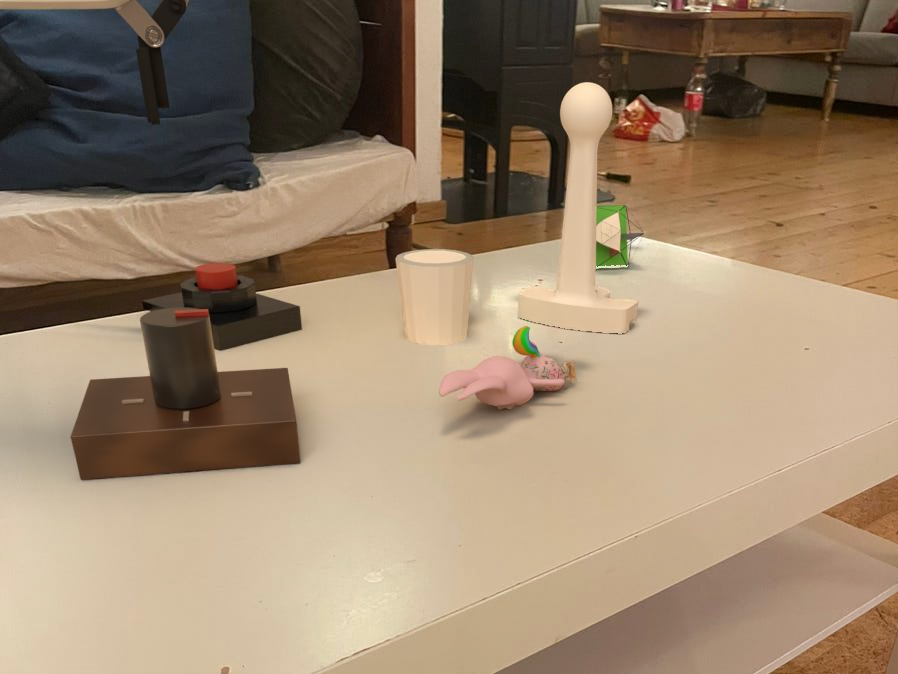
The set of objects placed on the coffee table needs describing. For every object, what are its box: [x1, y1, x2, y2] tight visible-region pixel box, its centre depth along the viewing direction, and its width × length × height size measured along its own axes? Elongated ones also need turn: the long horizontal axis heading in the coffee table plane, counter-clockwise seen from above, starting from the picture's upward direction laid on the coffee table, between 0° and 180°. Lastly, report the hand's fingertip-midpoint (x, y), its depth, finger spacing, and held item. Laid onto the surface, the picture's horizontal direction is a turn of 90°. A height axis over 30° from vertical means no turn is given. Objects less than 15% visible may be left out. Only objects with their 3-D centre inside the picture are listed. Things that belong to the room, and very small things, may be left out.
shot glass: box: [395, 248, 475, 346], centre depth 88 cm, size 7×7×7 cm
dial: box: [139, 308, 221, 409], centre depth 66 cm, size 4×4×6 cm
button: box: [194, 262, 238, 289], centre depth 90 cm, size 4×4×2 cm
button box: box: [141, 274, 303, 352], centre depth 91 cm, size 12×9×4 cm
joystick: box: [517, 81, 639, 335], centre depth 90 cm, size 11×8×20 cm
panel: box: [70, 367, 301, 481], centre depth 68 cm, size 14×11×3 cm
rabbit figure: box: [438, 325, 578, 411], centre depth 74 cm, size 6×6×15 cm
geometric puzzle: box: [596, 204, 646, 267], centre depth 111 cm, size 7×7×8 cm
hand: (71, 124), depth 59 cm, fingers open, 9 cm apart
